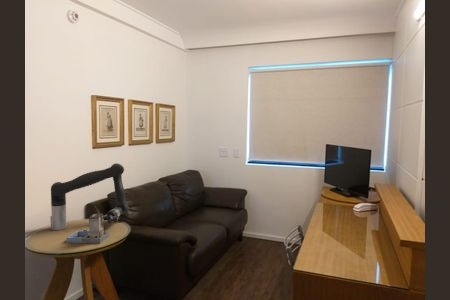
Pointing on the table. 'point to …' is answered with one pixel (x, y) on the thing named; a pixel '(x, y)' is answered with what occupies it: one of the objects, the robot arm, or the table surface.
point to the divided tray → (86, 237)
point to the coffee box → (96, 226)
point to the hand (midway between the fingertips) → (102, 221)
